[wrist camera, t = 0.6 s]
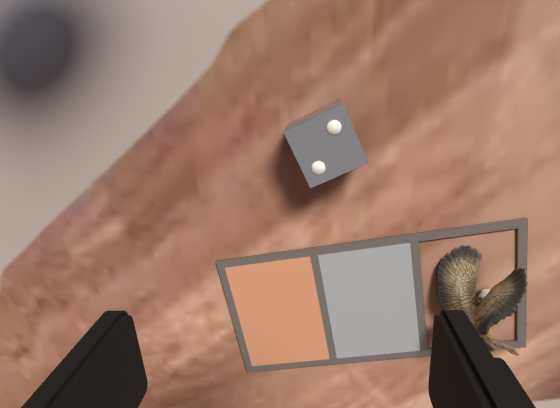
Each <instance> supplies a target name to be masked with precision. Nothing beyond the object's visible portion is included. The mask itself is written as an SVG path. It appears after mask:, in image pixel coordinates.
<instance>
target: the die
mask: <svg viewBox="0 0 560 408" xmlns="http://www.w3.org/2000/svg"><path fill="white" fill-rule="evenodd" d="M284 135H285V137H286V139H287V141H288V143H289V145H290V147H291V149H292V151H293V153H294V155H295V157H296V160H297V162H298V164H299V166H300V168H301V170H302V172H303V174H304V176H305V178H306V180H307V182H308V184H309V186H310V188H312V187H315V186H317V185H319V184H322V183H324V182H326V181H328V180H331V179H333V178H335V177H338V176H340V175H342V174H344V173H347V172H349V171H351V170H354V169H356V168H358V167H360V166H363V165H365V164H367V163H368V161H367V158H366V156H365V154H364V151H363V149H362V147H361V144H360V142H359V140H358V137H357V135H356V132H355V130H354V128H353V125H352V123H351V121H350V118H349V116H348V114H347V111H346V109H345V107H344V104H343V103H342V102H341V101H340V99H339V100H337V101H335V102H332V103H330V104H328V105H326V106H324V107H322V108H320V109H318V110H316V111H314V112H312V113H310V114H308V115H306V116H304V117H302V118H300V119H298V120H296V121H294V122H292V123H289V124H288V125H287V127H286V129H285V131H284Z"/></svg>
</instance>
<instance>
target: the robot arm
mask: <svg viewBox="0 0 560 408" xmlns="http://www.w3.org/2000/svg"><path fill="white" fill-rule="evenodd" d="M146 390H147V377H146V373H145V369H144V364H143V360H142V356H141V352H140V347H139V343H138V339H137V335H136V330H135V326H134V322H133V318H132V317H131V316H130V315H128V314H127V312H126V311H106V312H105V313H103V314H102V316H101V317H100V318H99V319H98V320H97V321H96V322H95V324H94V325H93V326H92V327H91V328H90V329H89V331H88V332H87V333H86V334H85V335H84V336H83V337H82V339H81V340H80V341H79V342H78V343H77V344H76V345H75V347H74V348H73V349H72V350H71V351H70V352H69V353H68V355H67V356H66V357H65V358H64V359H63V360H62V361H61V363H60V364H59V365H58V366H57V367H56V368H55V369H54V371H53V372H52V373H51V374H50V375H49V376H48V377H47V379H46V380H45V381H44V382H43V383H42V384H41V385H40V387H39V388H38V389H37V390H36V391H35V392H34V393H33V395H32V396H31V397H30V398H29V399H28V400H27V401H26V403H25V404H24V405H23V406H22V407H21V408H138V406H139V405H140V403H141V401H142V399H143V397H144V395H145V393H146ZM429 396H430V400H431V403H432V405H433V408H536V407H534V404H533V403H532V401H531V400H530V398H529V397H528V395H527V394H526V392H525V391H524V389H523V388H522V386H521V385H520V383H519V382H518V380H517V379H516V377H515V376H514V374H513V373H512V371H511V369H510V368H509V366H508V365H507V364H506V362H505V361H504V360H503V359H501V358H494V357H493V356H492V354H491V353H490V351H489V349H488V348H487V346H486V345H485V343H484V341H483V340H482V338H481V337H480V335H479V334H478V332H477V330H476V329H475V327H474V326H473V324H472V322H471V321H470V319H469V318H468V316H467V314H466V313H465V312H464V310H442V311H441V314H440V315H435V317H434V327H433V338H432V350H431V362H430V374H429Z"/></svg>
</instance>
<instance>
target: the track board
mask: <svg viewBox="0 0 560 408" xmlns="http://www.w3.org/2000/svg"><path fill="white" fill-rule="evenodd" d="M516 228H517V269H519V268H526V274H527V239H528V219H527V218H521V219H514V220H506V221H499V222H492V223H485V224H478V225H470V226H463V227H456V228H449V229H441V230H434V231H427V232H420V233H413V234H405V235H398V236H391V237H384V238H377V239H369V240H362V241H355V242H348V243H340V244H333V245H326V246H319V247H312V248H304V249H297V250H290V251H283V252H275V253H268V254H261V255H254V256H247V257H239V258H232V259H225V260H218V261H216V265H217V268H218V272H219V275H220V279H221V282H222V286H223V289H224V293H225V297H226V300H227V304H228V307H229V311H230V314H231V318H232V321H233V325H234V328H235V332H236V335H237V339H238V342H239V346H240V350H241V353H242V357H243V360H244V364H245V367H246V371H247V372H256V371H267V370H278V369H289V368H300V367H312V366H323V365H334V364H345V363H356V362H367V361H378V360H389V359H400V358H411V357H422V356H431V350H432V348H428V346H427V334H426V322H425V311H424V299H423V288H422V276H421V264H420V253H419V242H420V241H427V240H434V239H442V238H449V237H457V236H464V235H471V234H479V233H486V232H494V231H501V230H508V229H516ZM526 288H527V287H526ZM526 298H527V290H526V292H525V294H524V296H523V298H522V300H521V302H520V303H519V306H518V307H517V308H516V340H508V341H501V342H503V343H505V344H507V345H510V346H512V347H513V348H522V347H526ZM494 348H495V350H500V349H503V348H501V347H498V346H495V345H494Z"/></svg>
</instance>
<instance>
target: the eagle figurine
mask: <svg viewBox="0 0 560 408" xmlns="http://www.w3.org/2000/svg"><path fill="white" fill-rule="evenodd" d="M481 259H482V254H481V253H478V251H477V249H476V248H474V249H472V247H471V246H470V245H467V246H465V245H461V246H460V247H459V248H458V249H457V248H454V249H453V250H452V253H451V254H449V253H447V254H446V257H443V258H442V259H441V261H440V265H439V266H438V271H437V275H438V280H437V282H438V284H439V285H438V292H439V294H438V302H439V304H440V307H441V308H442V309H443V310H464V312H465V313H466V314H467V316H468V318H469V319H470V321H471V322H472V324H473V326H474V327H475V329H476V330H477V332H478V334H479V335H480V337H481V338H482V340H483V341H484V343H485V345H486V346H487V348H488V349H489V350H490V351H492V352H493V351H494V350H495V348H494V345H495V346H498V347H501V348H503V349H506V350H508V351H509V352H510V353H512V354H514V355H519V353H518V352H517V351H516V350H515V349H514V348H513V347H512V346H510V345H507V344H505V343H503V342H501V341H499V340H496V339H494V338H493V337H492V336H491V335H490V334H488V331H489V328H490V327H492V326H493V325H494V324H498V322H499V321H500V320H501V319H505V317H507V316H512V315H513V313H514V312H516V308H517V307H518V306H519V303H520V302H521V300H522V298H523V296H524V294H525V292H526V290H527V288H526V287H527V283H528V282H527V274H526V268H519V269H517V268H516V269H515V270H514V271H513V272H512V273H511V274H510V275H509V276H508V277H507V278H505V279H504V280H503V281H501V282H500V283H498V284H497V285H495V286H494V287H493V288H492V289H490V288H487V289H483V290H482V291H481V293H480V294H479V296H478V297H477V296H476V280H477V272H478V269H479V266H480V262H481Z"/></svg>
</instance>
